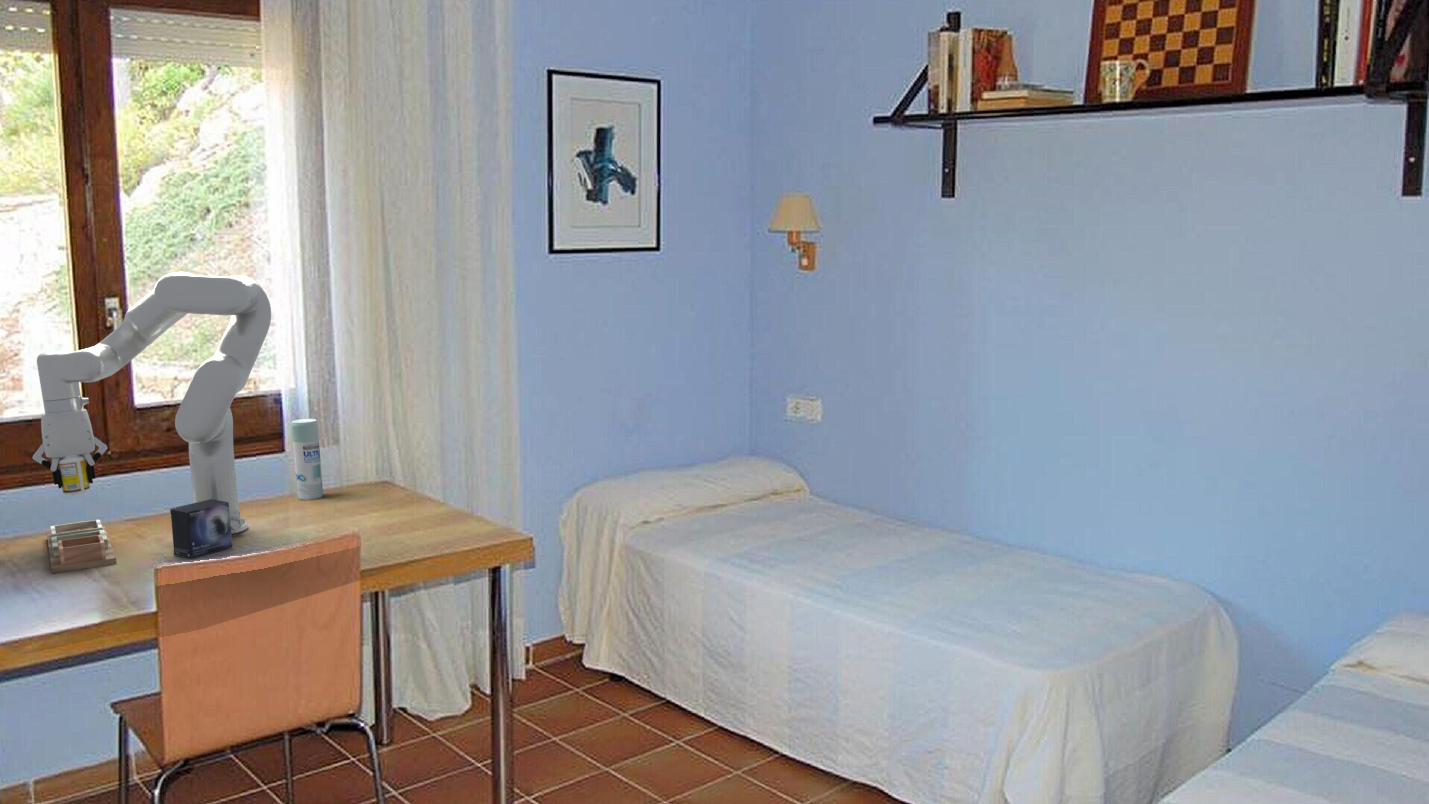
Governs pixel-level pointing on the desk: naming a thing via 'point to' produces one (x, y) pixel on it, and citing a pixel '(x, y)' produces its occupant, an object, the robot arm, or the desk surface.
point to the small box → (201, 528)
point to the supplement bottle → (74, 475)
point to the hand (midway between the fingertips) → (75, 484)
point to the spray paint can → (307, 458)
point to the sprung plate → (76, 530)
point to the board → (79, 546)
